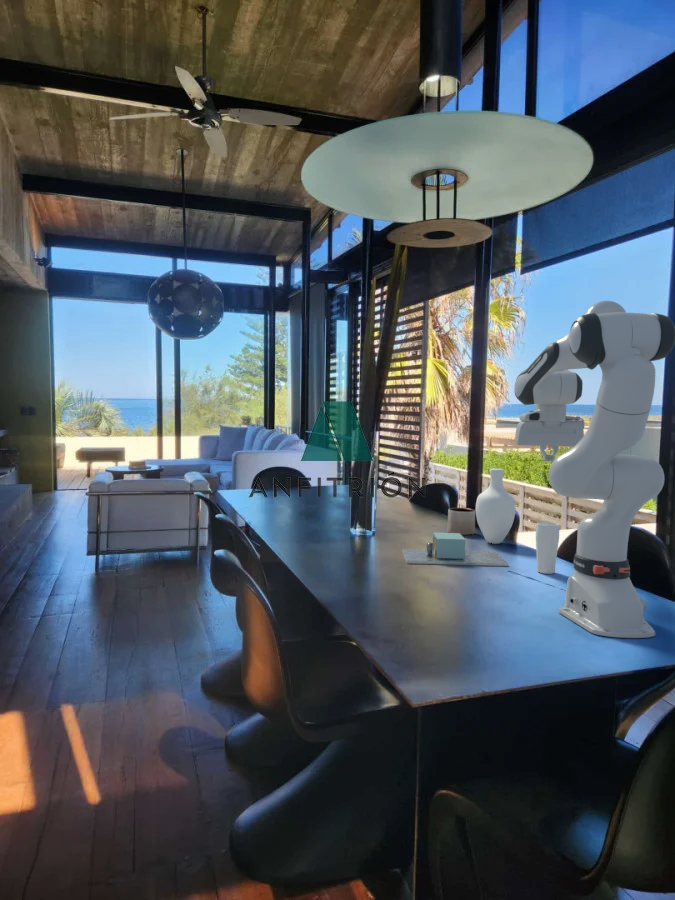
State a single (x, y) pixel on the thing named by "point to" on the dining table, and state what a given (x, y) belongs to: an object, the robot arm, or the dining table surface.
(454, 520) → the planter
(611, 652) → the dining table surface
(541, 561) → the drinking glass
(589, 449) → the robot arm
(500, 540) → the vase
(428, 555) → the base
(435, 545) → the block
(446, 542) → the cover
